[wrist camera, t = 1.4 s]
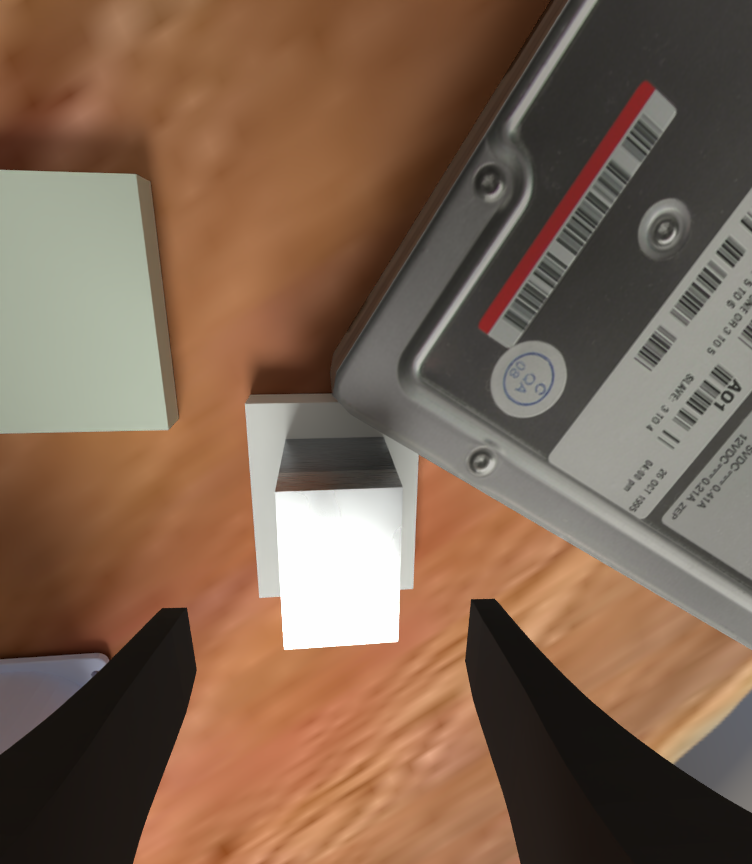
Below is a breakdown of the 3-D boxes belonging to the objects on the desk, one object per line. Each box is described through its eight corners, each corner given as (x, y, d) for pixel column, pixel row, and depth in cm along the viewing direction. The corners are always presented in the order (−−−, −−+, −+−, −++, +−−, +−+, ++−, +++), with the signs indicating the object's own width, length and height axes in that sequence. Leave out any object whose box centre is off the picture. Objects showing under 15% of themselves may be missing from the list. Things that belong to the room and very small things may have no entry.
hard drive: (727, 617, 28) (799, 677, 24) (320, 371, 21) (320, 397, 17) (984, 343, 24) (1122, 358, 20) (590, -66, 17) (675, -173, 13)
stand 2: (407, 570, 24) (413, 588, 23) (263, 578, 24) (259, 597, 22) (414, 392, 21) (420, 400, 20) (249, 394, 21) (244, 403, 19)
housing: (381, 562, 22) (398, 641, 17) (291, 567, 22) (284, 649, 17) (383, 436, 20) (402, 487, 16) (285, 439, 20) (275, 491, 15)
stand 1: (178, 418, 21) (168, 429, 19) (-1, 422, 20) (-25, 434, 19) (150, 181, 18) (135, 174, 16) (-60, 175, 17) (-94, 167, 16)
